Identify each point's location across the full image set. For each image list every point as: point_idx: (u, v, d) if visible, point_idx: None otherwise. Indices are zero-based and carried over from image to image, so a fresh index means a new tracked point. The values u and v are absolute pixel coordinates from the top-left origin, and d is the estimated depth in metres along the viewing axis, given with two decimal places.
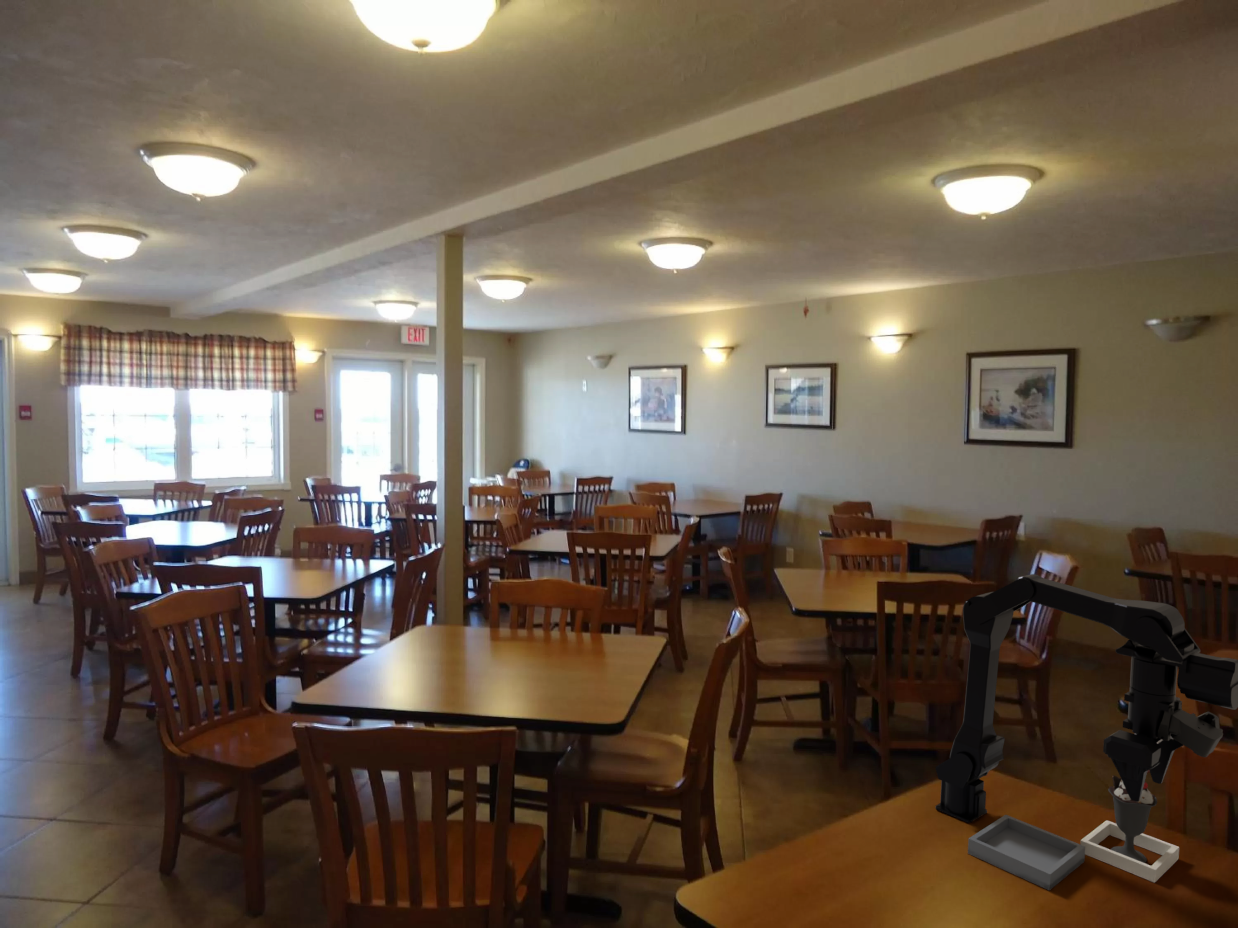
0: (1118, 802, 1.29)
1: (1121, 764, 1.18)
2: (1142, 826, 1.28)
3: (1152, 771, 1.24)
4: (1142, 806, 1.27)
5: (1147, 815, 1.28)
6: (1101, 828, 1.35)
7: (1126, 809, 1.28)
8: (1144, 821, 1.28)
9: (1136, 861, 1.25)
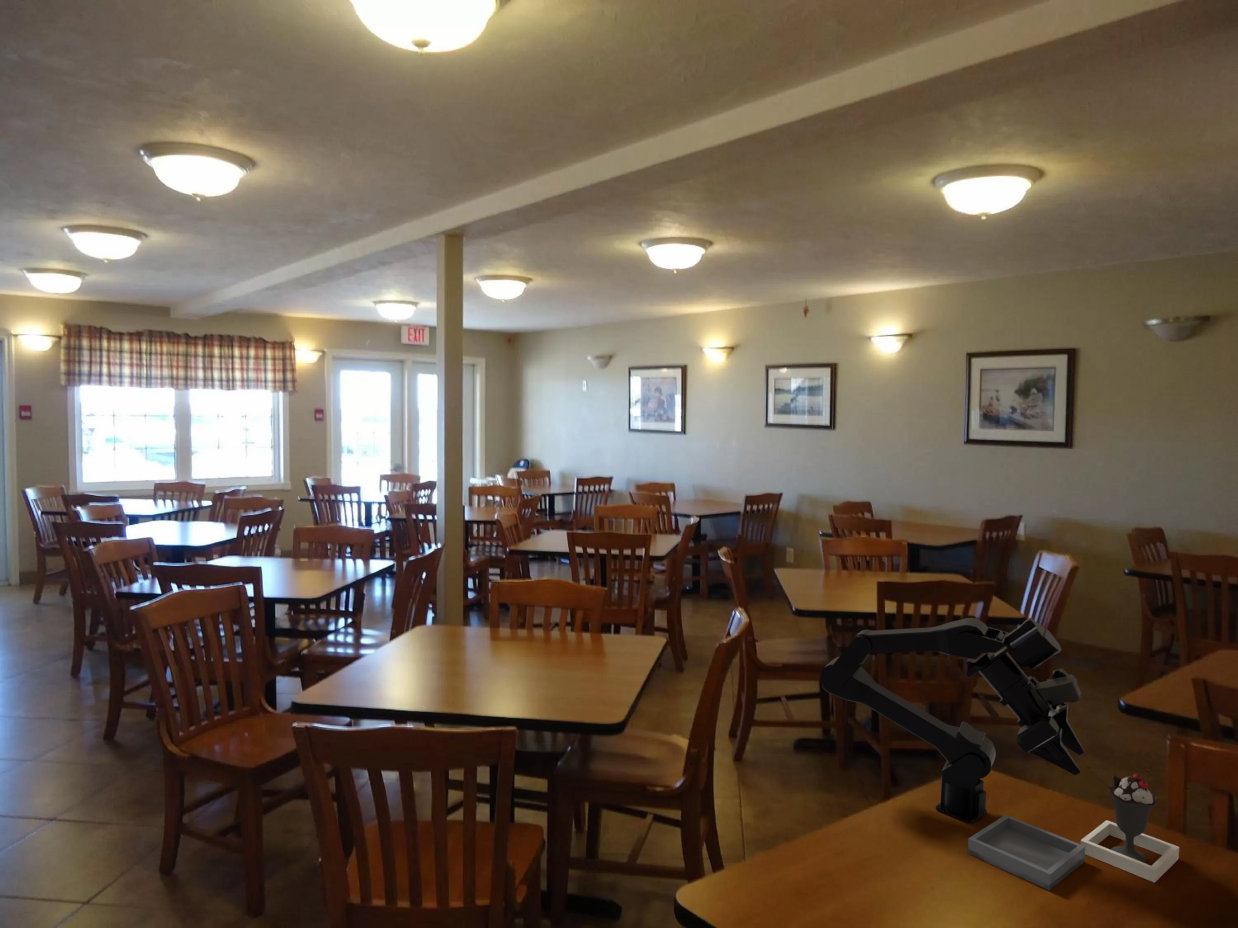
0: (1118, 802, 1.29)
1: (1044, 752, 1.30)
2: (1142, 826, 1.28)
3: (1071, 747, 1.38)
4: (1142, 806, 1.27)
5: (1147, 815, 1.28)
6: (1101, 828, 1.35)
7: (1126, 809, 1.28)
8: (1144, 821, 1.28)
9: (1136, 861, 1.25)
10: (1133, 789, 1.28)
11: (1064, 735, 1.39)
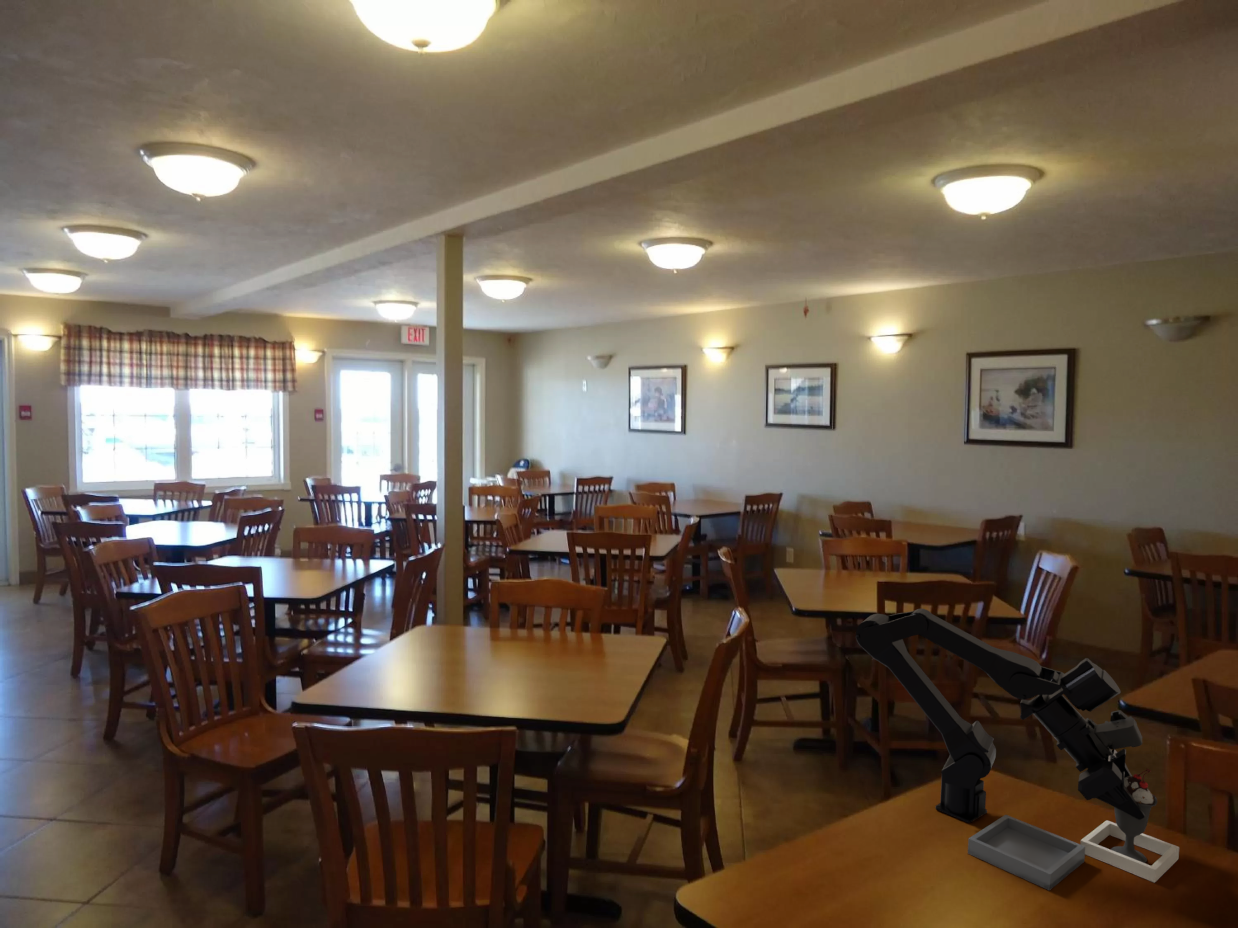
0: None
1: (1107, 796, 1.27)
2: (1142, 826, 1.28)
3: None
4: (1142, 806, 1.27)
5: (1147, 815, 1.28)
6: (1101, 828, 1.35)
7: None
8: (1144, 821, 1.28)
9: (1136, 861, 1.25)
10: (1133, 789, 1.28)
11: None
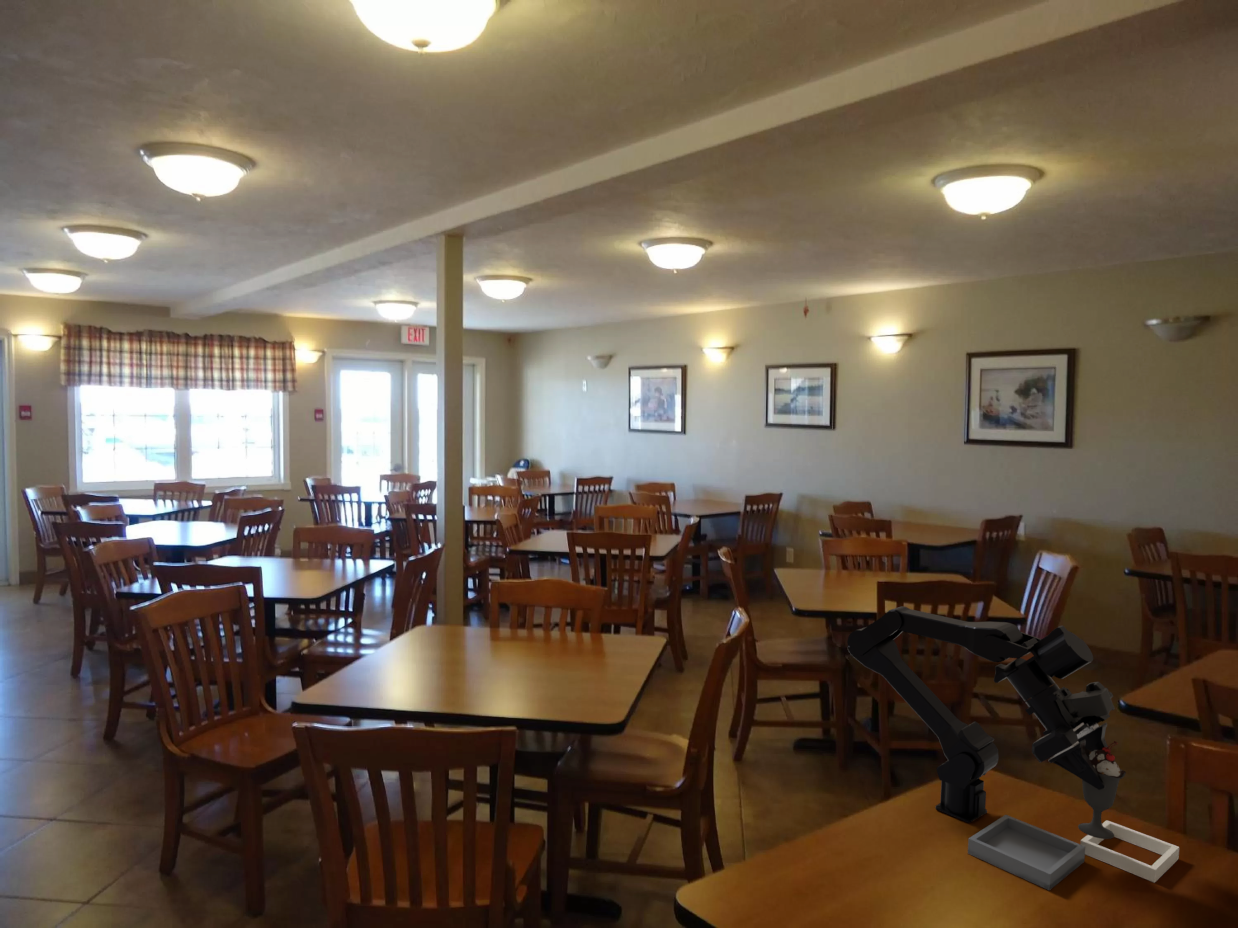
0: None
1: (1066, 763, 1.26)
2: (1107, 799, 1.25)
3: None
4: (1105, 777, 1.24)
5: (1113, 789, 1.25)
6: None
7: None
8: (1109, 794, 1.25)
9: (1136, 861, 1.25)
10: (1098, 761, 1.26)
11: None
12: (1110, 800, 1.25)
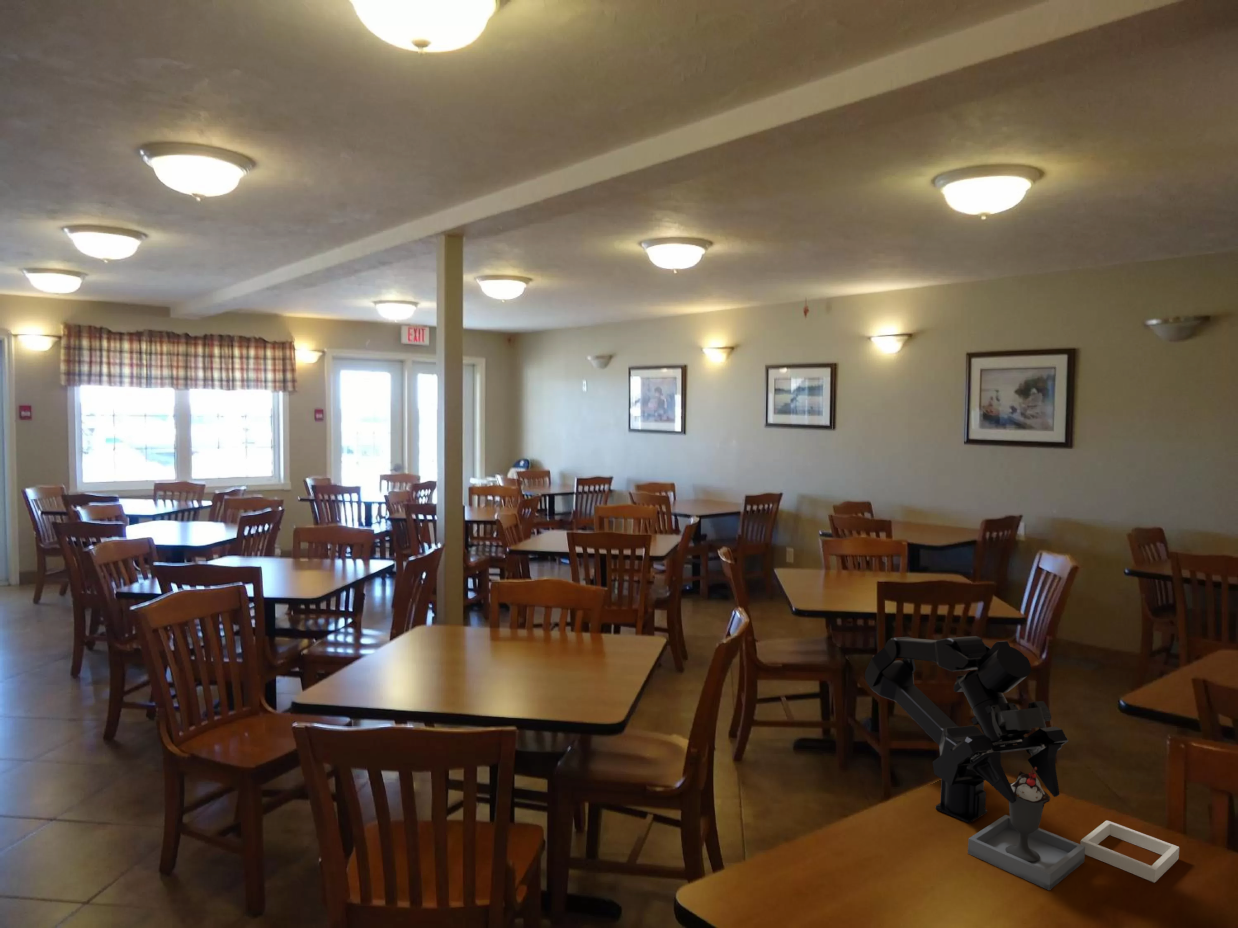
0: None
1: (983, 772, 1.30)
2: (1024, 822, 1.26)
3: (1048, 787, 1.30)
4: (1020, 800, 1.26)
5: (1030, 813, 1.26)
6: (1101, 828, 1.35)
7: None
8: (1026, 818, 1.26)
9: (1136, 861, 1.25)
10: (1019, 783, 1.28)
11: (1045, 773, 1.31)
12: (1029, 824, 1.26)
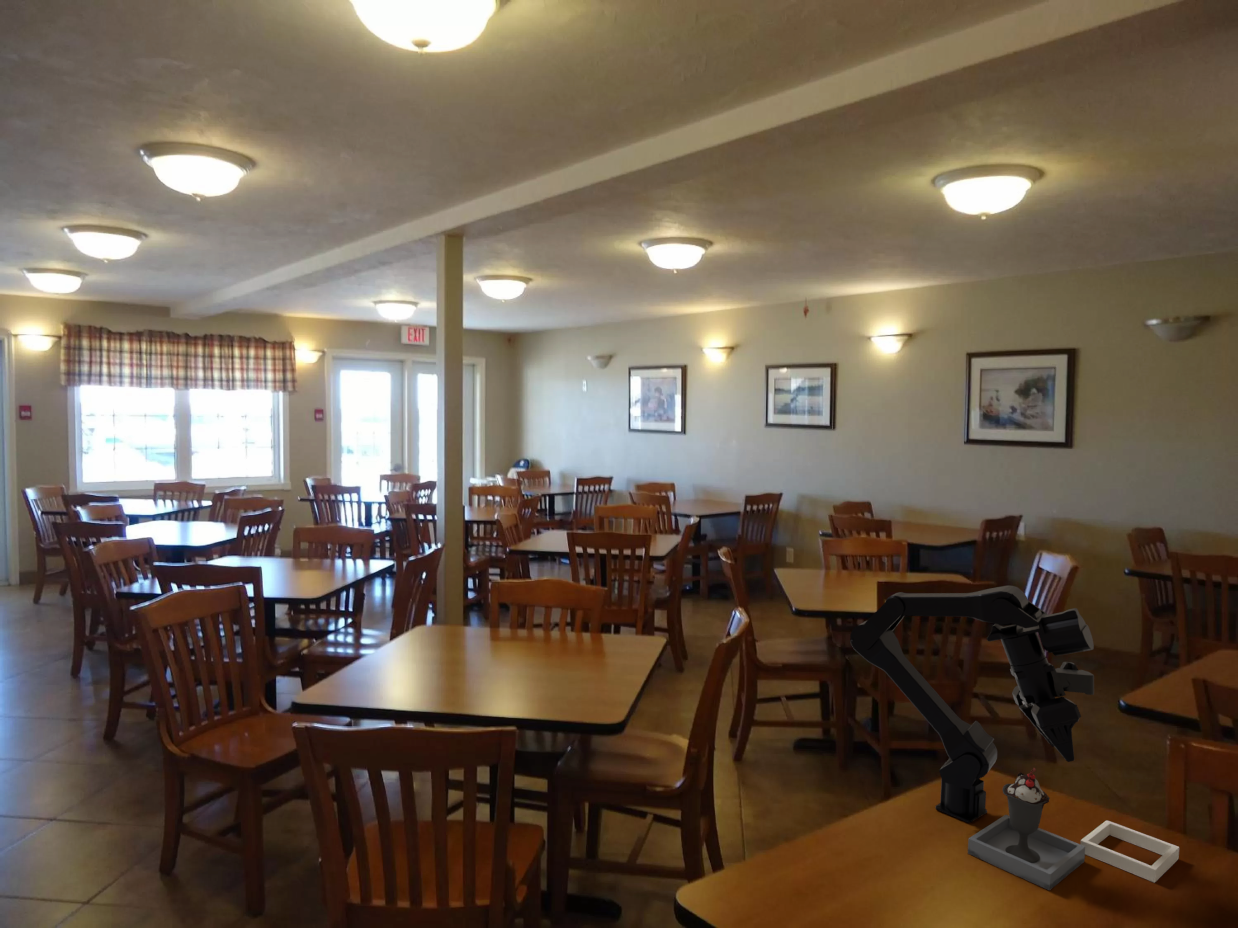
0: None
1: (1051, 732, 1.29)
2: (1024, 824, 1.26)
3: (1048, 738, 1.38)
4: (1019, 801, 1.26)
5: (1030, 814, 1.26)
6: (1101, 828, 1.35)
7: (1009, 802, 1.28)
8: (1025, 819, 1.26)
9: (1136, 861, 1.25)
10: (1018, 785, 1.27)
11: None
12: (1028, 825, 1.26)
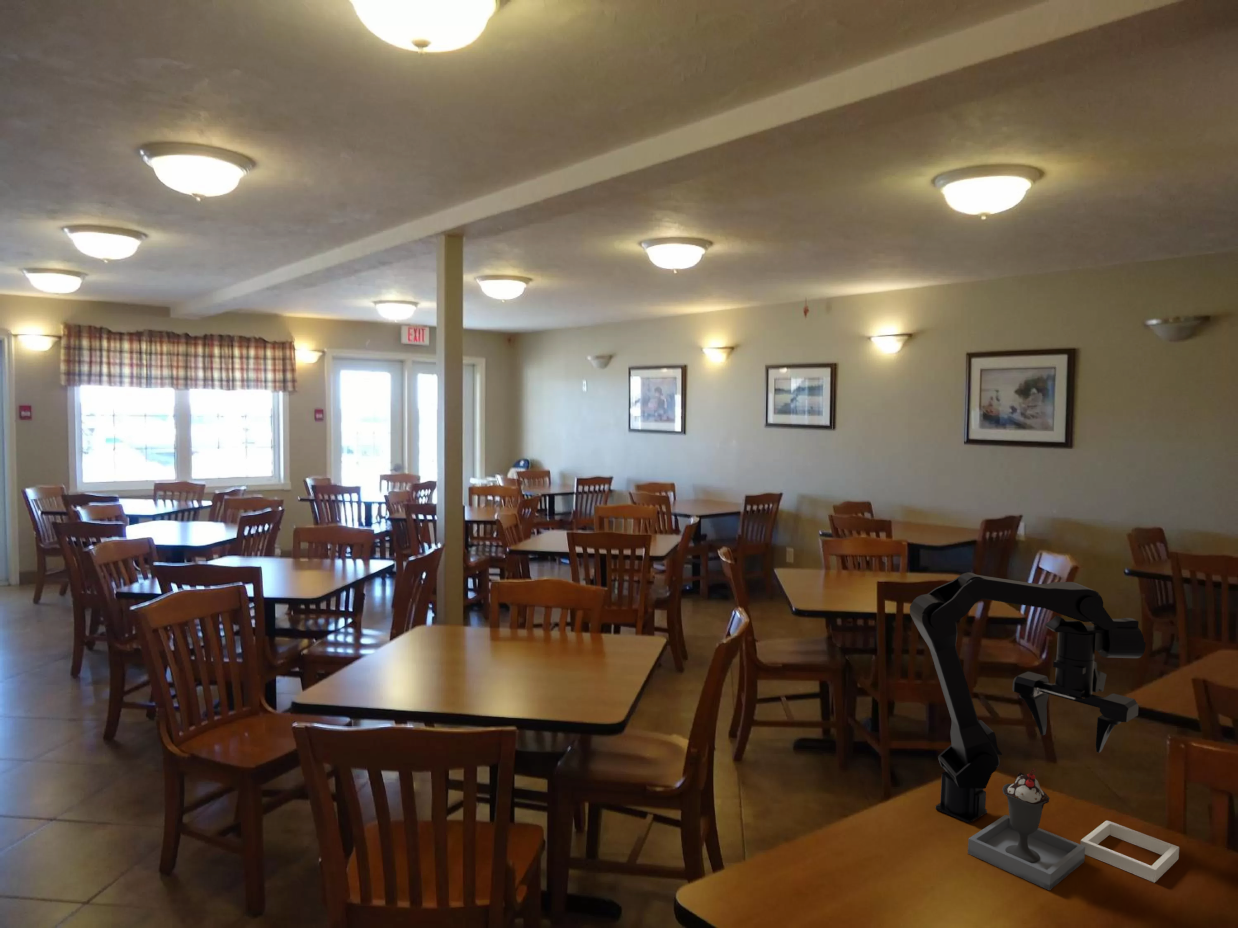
0: None
1: None
2: (1023, 824, 1.26)
3: (1043, 727, 1.45)
4: (1019, 801, 1.26)
5: (1030, 814, 1.26)
6: (1101, 828, 1.35)
7: (1009, 802, 1.28)
8: (1025, 819, 1.26)
9: (1136, 861, 1.25)
10: (1018, 785, 1.27)
11: (1042, 714, 1.46)
12: (1028, 825, 1.26)
